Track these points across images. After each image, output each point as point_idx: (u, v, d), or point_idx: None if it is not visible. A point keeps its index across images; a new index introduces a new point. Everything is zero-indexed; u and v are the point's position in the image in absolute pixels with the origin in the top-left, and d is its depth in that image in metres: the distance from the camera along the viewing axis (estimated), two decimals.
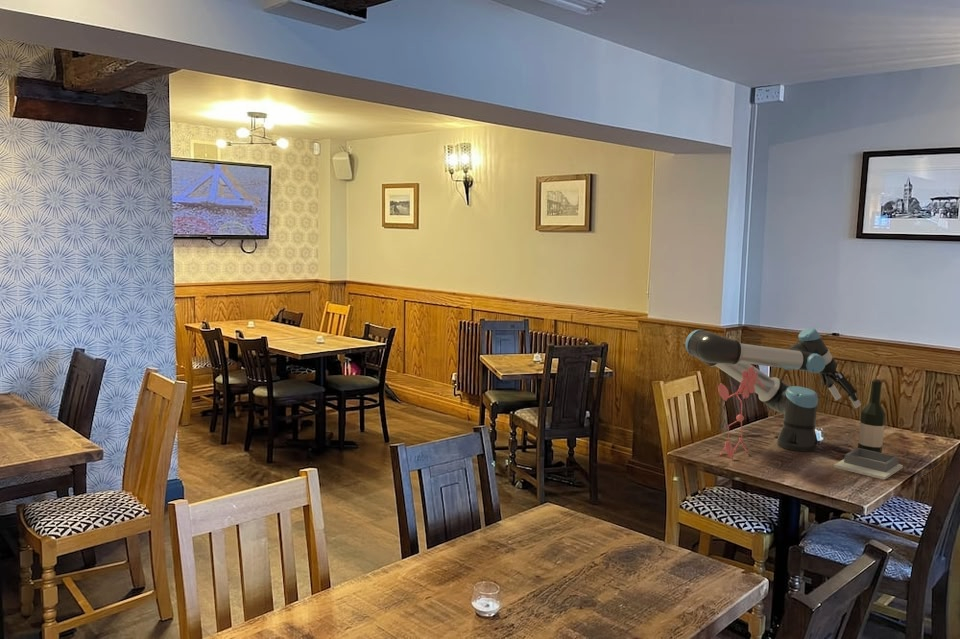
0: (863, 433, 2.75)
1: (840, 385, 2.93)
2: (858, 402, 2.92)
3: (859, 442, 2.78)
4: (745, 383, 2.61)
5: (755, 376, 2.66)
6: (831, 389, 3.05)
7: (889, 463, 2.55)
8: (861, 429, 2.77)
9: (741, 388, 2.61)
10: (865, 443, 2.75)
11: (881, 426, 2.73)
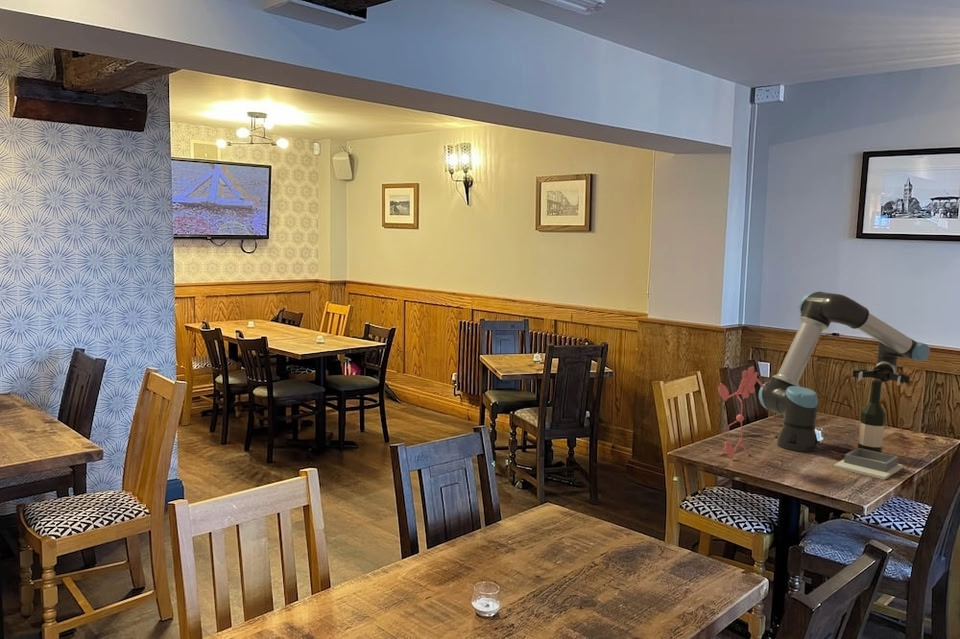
0: (863, 433, 2.75)
1: (895, 374, 2.88)
2: (899, 383, 2.80)
3: (859, 442, 2.78)
4: (745, 383, 2.61)
5: (755, 376, 2.66)
6: (862, 373, 2.90)
7: (889, 463, 2.55)
8: (861, 429, 2.77)
9: (741, 388, 2.61)
10: (865, 443, 2.75)
11: (881, 426, 2.73)
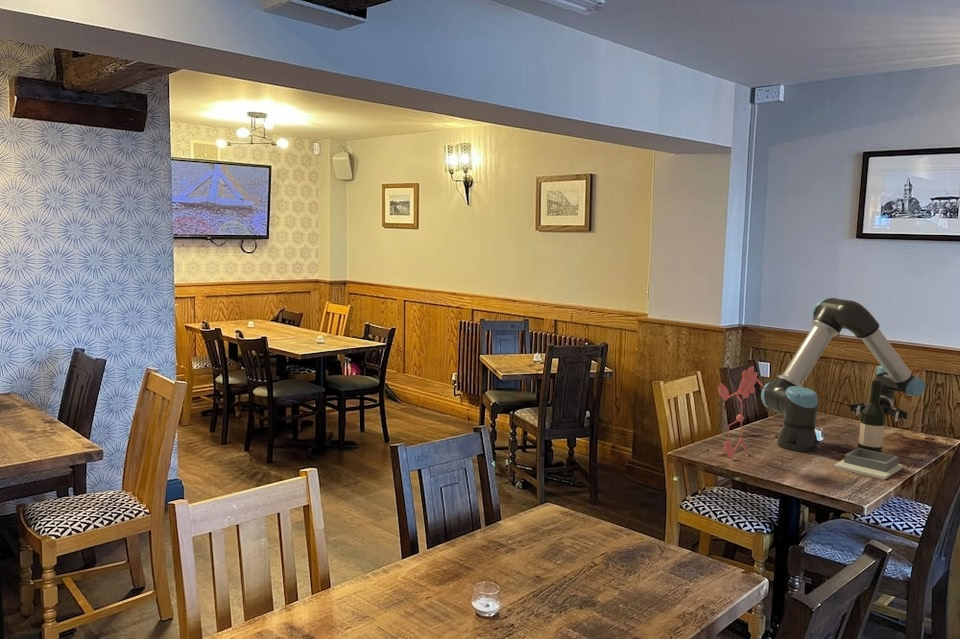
0: (863, 433, 2.75)
1: (893, 409, 2.86)
2: (897, 419, 2.77)
3: (859, 442, 2.78)
4: (745, 383, 2.61)
5: (755, 376, 2.66)
6: (859, 408, 2.88)
7: (889, 463, 2.55)
8: (861, 429, 2.77)
9: (741, 388, 2.61)
10: (865, 443, 2.75)
11: (881, 426, 2.73)
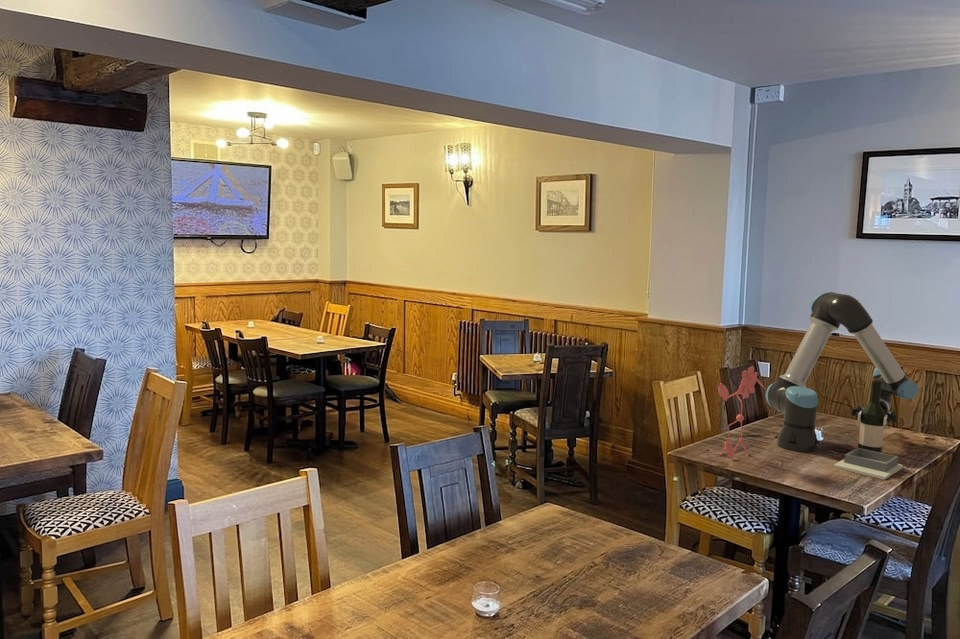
0: (863, 433, 2.75)
1: (886, 412, 2.79)
2: (886, 422, 2.71)
3: (859, 442, 2.78)
4: (745, 383, 2.61)
5: (755, 376, 2.66)
6: None
7: (889, 463, 2.55)
8: (861, 429, 2.77)
9: (741, 388, 2.61)
10: (865, 443, 2.75)
11: (881, 426, 2.73)
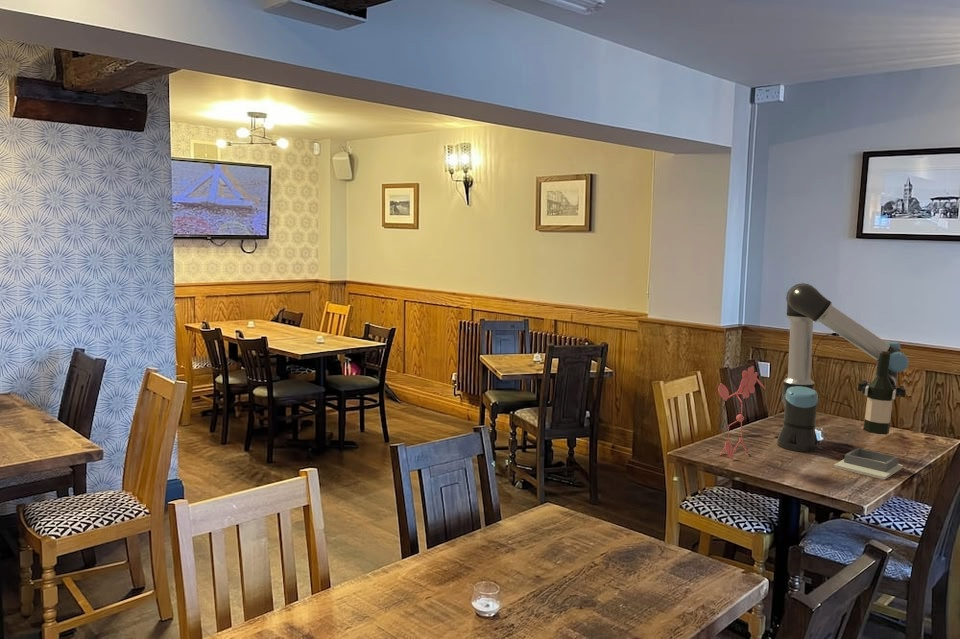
0: (871, 409, 2.60)
1: None
2: (894, 397, 2.56)
3: (866, 418, 2.63)
4: (745, 383, 2.61)
5: (755, 376, 2.66)
6: (868, 387, 2.64)
7: (889, 463, 2.55)
8: (868, 404, 2.62)
9: (741, 388, 2.61)
10: (872, 419, 2.60)
11: (889, 401, 2.58)
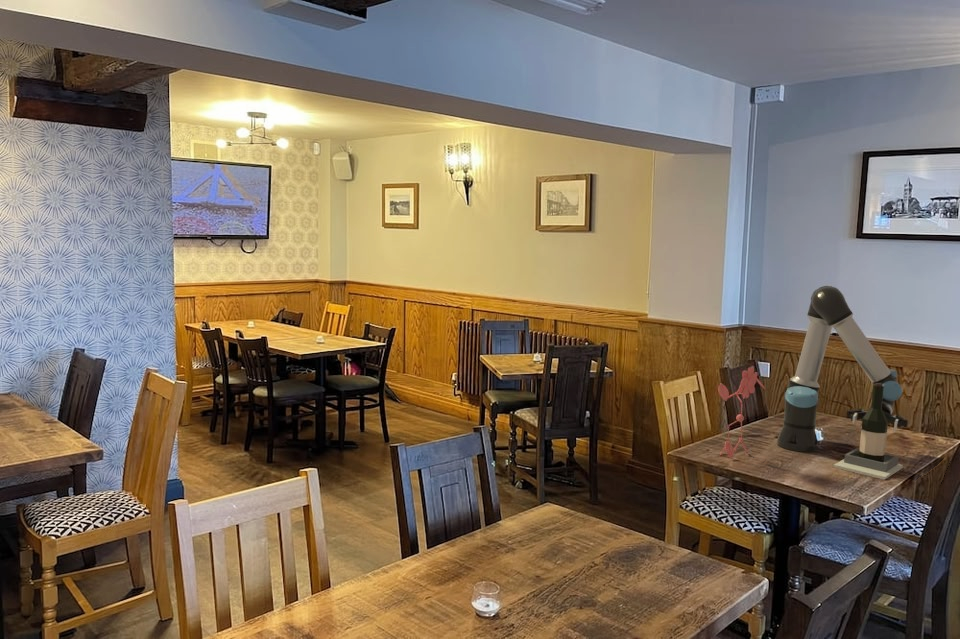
0: (865, 441, 2.60)
1: (892, 416, 2.65)
2: (896, 427, 2.56)
3: (860, 450, 2.63)
4: (745, 383, 2.61)
5: (755, 376, 2.66)
6: (857, 415, 2.66)
7: (889, 463, 2.55)
8: (863, 436, 2.62)
9: (741, 388, 2.61)
10: (866, 451, 2.60)
11: (883, 433, 2.58)
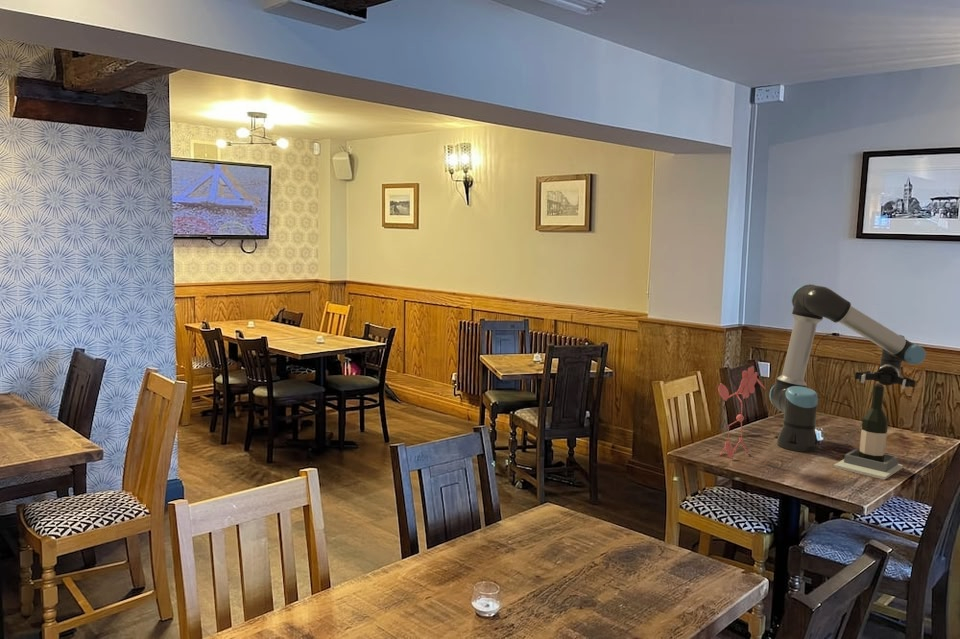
0: (865, 441, 2.60)
1: (900, 377, 2.74)
2: (904, 386, 2.65)
3: (860, 450, 2.63)
4: (745, 383, 2.61)
5: (755, 376, 2.66)
6: (865, 375, 2.76)
7: (889, 463, 2.55)
8: (863, 437, 2.62)
9: (741, 388, 2.61)
10: (866, 451, 2.60)
11: (883, 433, 2.58)
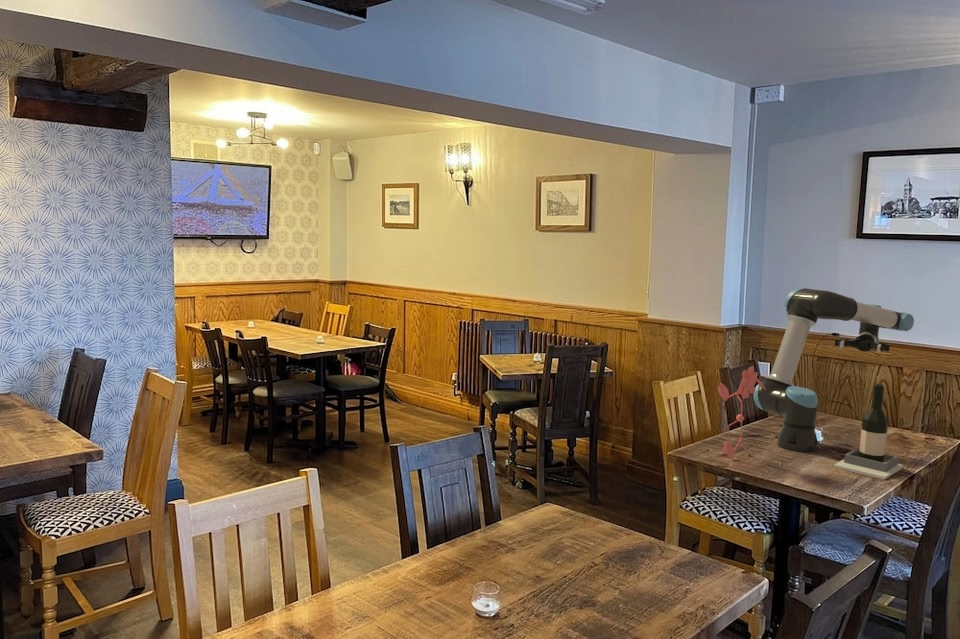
0: (865, 441, 2.60)
1: (876, 343, 2.95)
2: (879, 350, 2.86)
3: (860, 450, 2.63)
4: (745, 383, 2.61)
5: (755, 376, 2.66)
6: (843, 342, 2.97)
7: (889, 463, 2.55)
8: (863, 437, 2.62)
9: (741, 388, 2.61)
10: (866, 451, 2.60)
11: (883, 433, 2.58)
